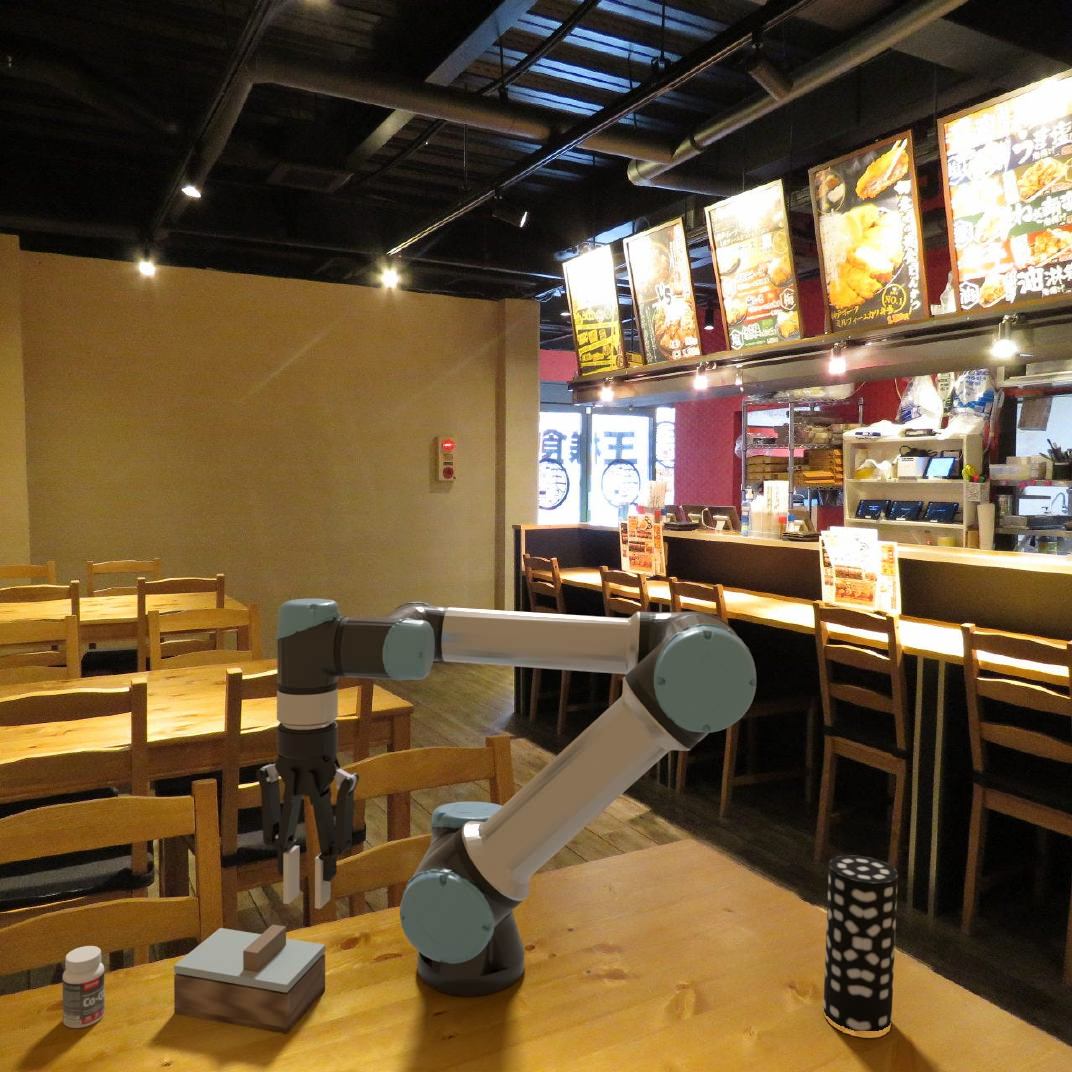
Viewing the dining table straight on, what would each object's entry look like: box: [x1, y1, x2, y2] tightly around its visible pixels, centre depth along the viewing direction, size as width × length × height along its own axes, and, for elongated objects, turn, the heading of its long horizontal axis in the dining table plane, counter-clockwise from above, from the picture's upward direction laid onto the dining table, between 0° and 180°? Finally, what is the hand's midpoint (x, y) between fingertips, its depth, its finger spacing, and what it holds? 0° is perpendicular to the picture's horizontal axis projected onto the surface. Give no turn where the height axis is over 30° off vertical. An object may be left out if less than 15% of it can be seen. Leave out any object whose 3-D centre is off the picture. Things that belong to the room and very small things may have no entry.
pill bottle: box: [62, 945, 106, 1029], centre depth 112 cm, size 5×5×8 cm
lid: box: [173, 924, 326, 993], centre depth 116 cm, size 16×10×4 cm, turn 76°
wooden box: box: [173, 953, 326, 1035], centre depth 117 cm, size 16×10×5 cm, turn 76°
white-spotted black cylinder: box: [822, 854, 899, 1031], centre depth 115 cm, size 8×8×20 cm
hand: (307, 901), depth 114 cm, fingers open, 4 cm apart
